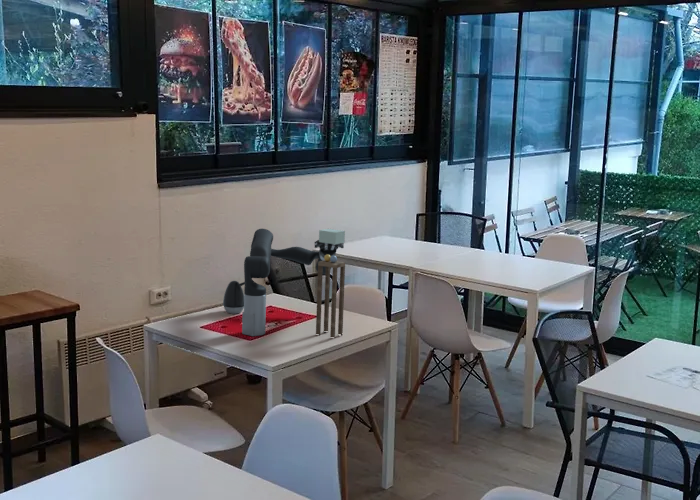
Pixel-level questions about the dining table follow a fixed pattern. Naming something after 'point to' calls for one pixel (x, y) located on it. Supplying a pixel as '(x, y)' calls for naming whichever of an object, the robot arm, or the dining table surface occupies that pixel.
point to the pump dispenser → (234, 298)
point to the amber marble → (327, 257)
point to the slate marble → (333, 259)
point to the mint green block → (331, 236)
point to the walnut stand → (334, 292)
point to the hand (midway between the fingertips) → (330, 237)
